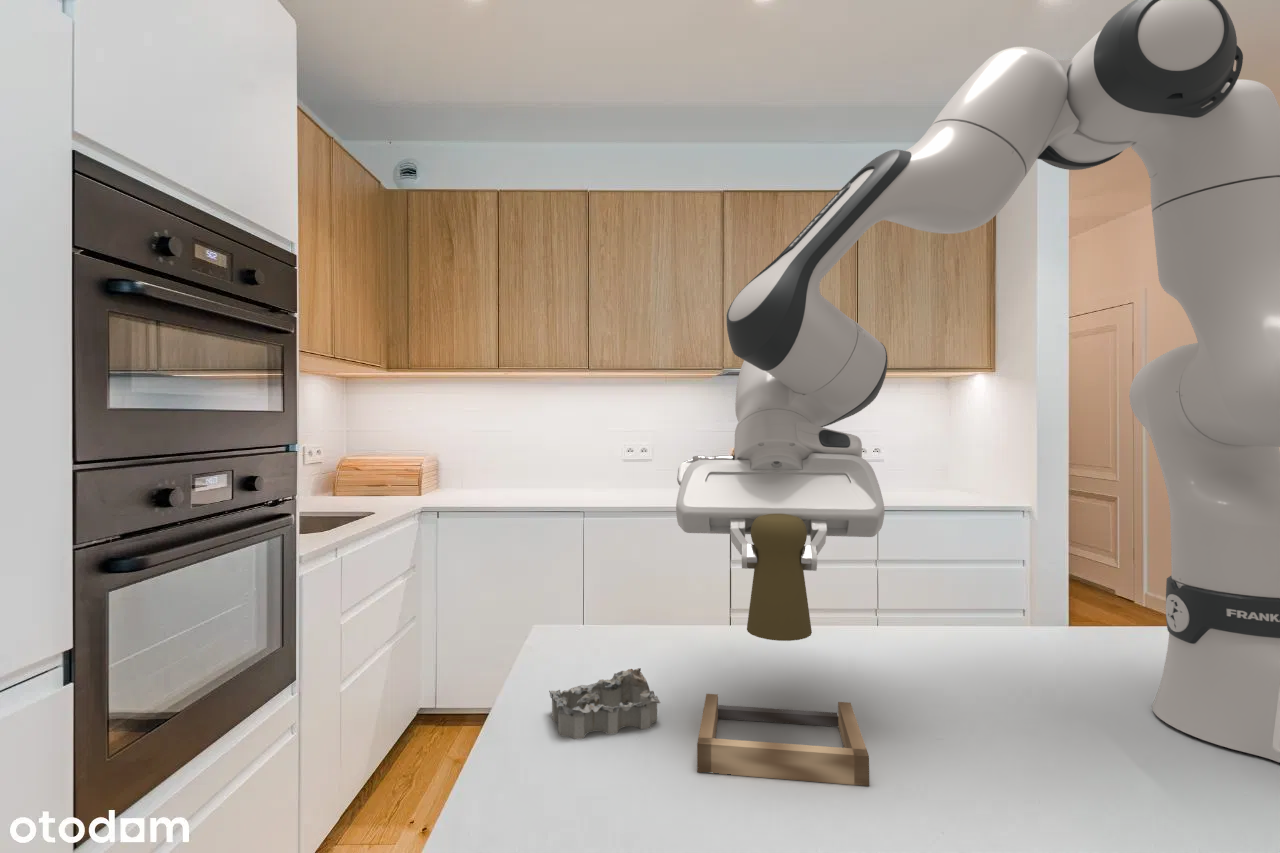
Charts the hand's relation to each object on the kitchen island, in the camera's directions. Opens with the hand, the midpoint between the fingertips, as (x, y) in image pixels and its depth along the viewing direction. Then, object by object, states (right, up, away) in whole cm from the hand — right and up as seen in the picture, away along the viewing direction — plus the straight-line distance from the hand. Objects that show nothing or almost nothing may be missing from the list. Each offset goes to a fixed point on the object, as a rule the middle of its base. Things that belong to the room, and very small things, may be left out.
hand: (779, 566), depth 64 cm
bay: (0, -17, +1) cm, 17 cm away
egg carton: (-17, -18, +6) cm, 25 cm away
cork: (0, -6, +1) cm, 6 cm away
